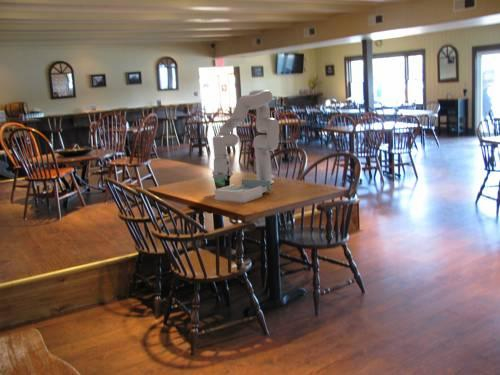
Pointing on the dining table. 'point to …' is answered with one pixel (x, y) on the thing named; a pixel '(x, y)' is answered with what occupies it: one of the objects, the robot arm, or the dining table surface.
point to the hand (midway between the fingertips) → (223, 185)
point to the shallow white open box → (237, 194)
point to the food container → (220, 180)
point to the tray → (252, 185)
